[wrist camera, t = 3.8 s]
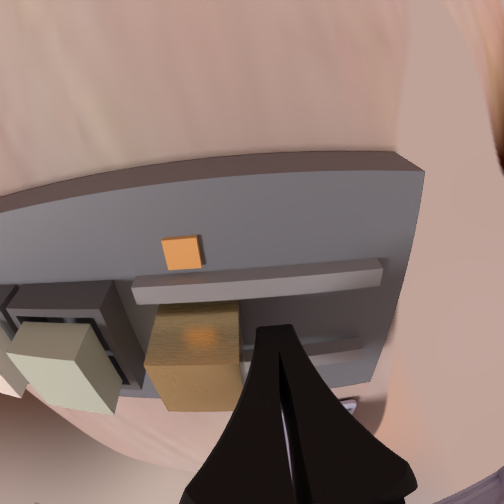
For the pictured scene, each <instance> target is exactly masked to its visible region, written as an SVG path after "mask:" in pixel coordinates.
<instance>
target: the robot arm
mask: <svg viewBox="0 0 504 504" xmlns="http://www.w3.org/2000/svg"><path fill="white" fill-rule="evenodd" d="M356 405H357V403H356V401H355V400H353V399H352V400H346V401H339V400H338V399H337V397H336V396H335V395H334V394H333V392H332V391H331V390H330V388H329V387H328V386H327V384H326V383H325V382H324V380H323V379H322V377H321V376H320V374H319V373H318V371H317V370H316V368H315V367H314V365H313V364H312V362H311V360H310V359H309V357H308V355H307V354H306V352H305V350H304V348H303V346H302V344H301V342H300V340H299V338H298V336H297V334H296V332H295V329H294V327H293V325H291V324H283V325H272V326H259V327H258V328H256V338H255V346H254V351H253V356H252V360H251V364H250V368H249V371H248V375H247V378H246V381H245V384H244V387H243V389H242V392H241V395H240V397H239V400H238V402H237V405H236V407H235V409H234V412H233V414H232V416H231V418H230V420H229V422H228V424H227V426H226V428H225V430H224V432H223V433H222V435H221V437H220V439H219V441H218V442H217V444H216V446H215V447H214V449H213V450H212V452H211V453H210V455H209V457H208V458H207V460H206V461H205V463H204V464H203V466H202V467H201V468H200V470H199V471H198V472H197V474H196V475H195V476H194V478H193V479H192V480H191V482H190V483H189V484H188V485H187V487H186V488H185V490H184V492H183V495H182V497H181V500H180V503H179V504H405V500H404V497H405V496H407V495H409V494H410V493H412V492H413V491H415V490H416V489H417V487H418V485H417V481H416V478H415V476H414V473H413V471H412V469H411V468H410V465H409V464H408V462H407V461H405V460H404V459H402V458H401V457H400V456H398V455H397V454H395V453H394V452H393V451H391V450H390V449H389V448H387V447H386V446H385V445H384V444H383V443H381V442H380V441H379V440H377V439H376V438H375V437H374V436H373V435H372V434H371V433H370V432H369V431H368V430H367V429H366V428H365V427H364V426H362V425H361V424H360V423H359V422H358V421H357V420H356V419H355V418H354V417H353V416H352V415H353V412H354V410H355V408H356ZM281 407H282V409H281ZM34 504H39V503H34ZM433 504H504V466H503V467H502V468H500V469H499V470H498V471H497V472H495V473H493V474H492V475H490V476H488V477H486V478H485V479H483V480H481V481H479V482H477V483H475V484H474V485H472V486H470V487H468V488H466V489H464V490H462V491H460V492H458V493H455V494H453V495H451V496H449V497H447V498H445V499H442V500H440V501H438V502H436V503H433Z"/></svg>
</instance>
